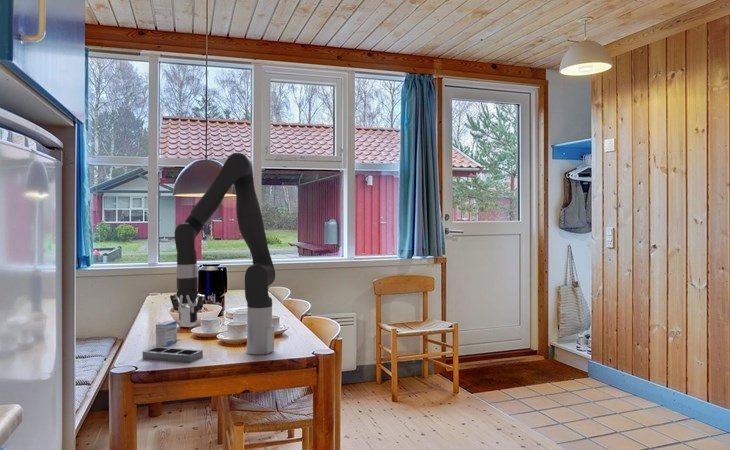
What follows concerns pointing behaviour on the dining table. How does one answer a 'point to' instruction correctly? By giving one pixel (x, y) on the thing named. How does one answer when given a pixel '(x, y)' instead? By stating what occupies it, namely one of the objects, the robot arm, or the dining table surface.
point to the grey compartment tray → (173, 354)
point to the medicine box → (166, 333)
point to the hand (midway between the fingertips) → (188, 321)
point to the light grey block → (186, 317)
